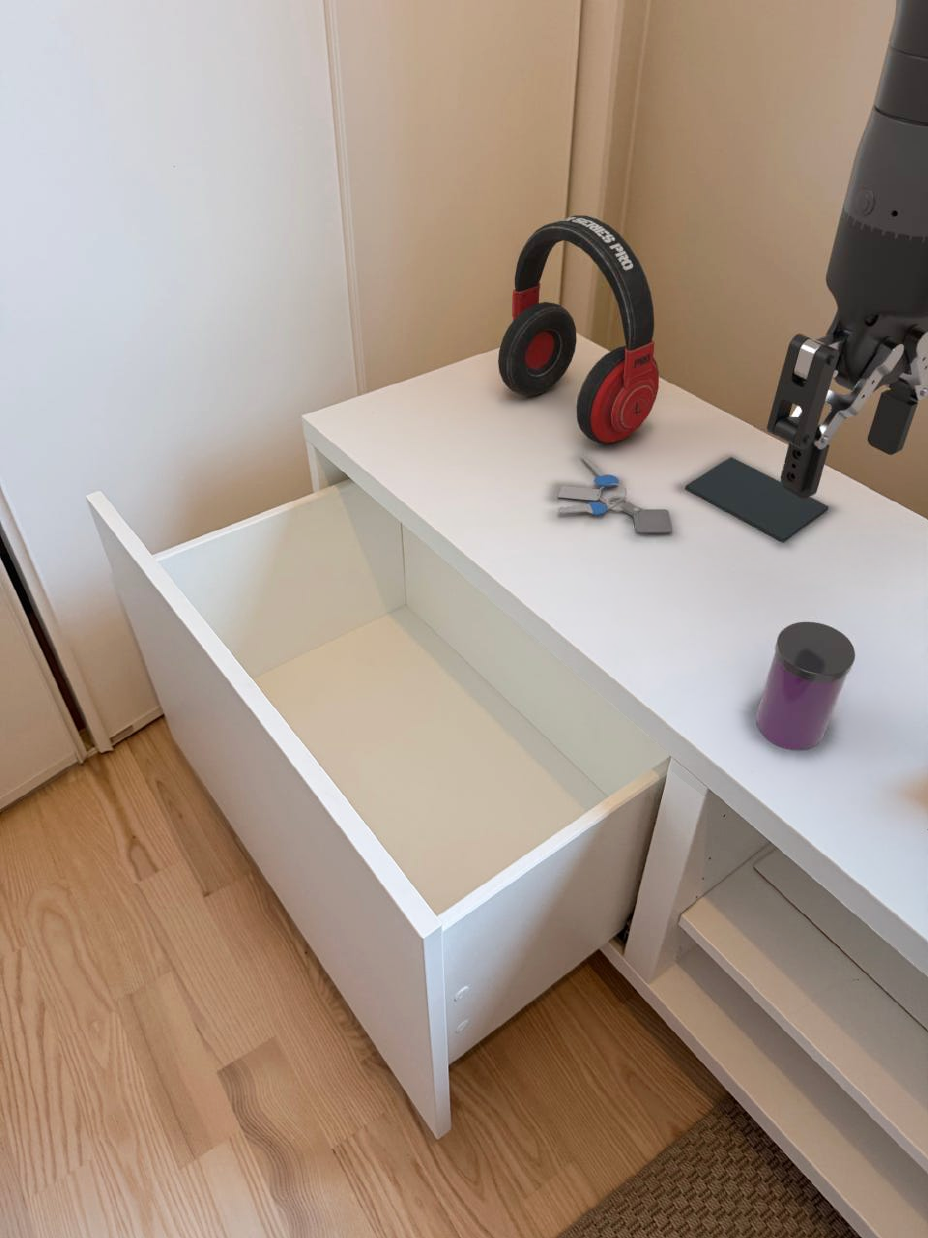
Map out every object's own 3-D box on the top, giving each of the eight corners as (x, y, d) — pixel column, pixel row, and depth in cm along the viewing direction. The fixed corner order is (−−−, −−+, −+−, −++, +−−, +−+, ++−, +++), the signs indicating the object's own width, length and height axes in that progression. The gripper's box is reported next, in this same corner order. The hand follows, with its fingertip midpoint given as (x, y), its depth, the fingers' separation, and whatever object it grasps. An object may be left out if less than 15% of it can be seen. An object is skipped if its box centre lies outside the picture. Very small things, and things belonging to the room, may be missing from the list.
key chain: (686, 526, 84) (687, 519, 84) (618, 562, 81) (619, 555, 80) (583, 457, 93) (584, 450, 92) (518, 487, 89) (518, 480, 89)
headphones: (667, 433, 96) (697, 237, 82) (596, 469, 91) (614, 268, 77) (554, 367, 106) (563, 183, 92) (485, 396, 101) (483, 208, 88)
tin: (839, 725, 68) (870, 648, 62) (799, 763, 65) (827, 686, 60) (781, 687, 70) (805, 610, 65) (740, 722, 68) (762, 645, 62)
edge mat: (828, 509, 86) (829, 506, 86) (782, 542, 83) (783, 539, 82) (730, 459, 92) (731, 456, 92) (684, 488, 89) (685, 485, 88)
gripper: (897, 258, 44) (815, 537, 54) (1063, 196, 50) (960, 458, 60) (771, 214, 48) (719, 480, 59) (937, 162, 54) (863, 412, 65)
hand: (841, 469), depth 60 cm, fingers open, 8 cm apart
